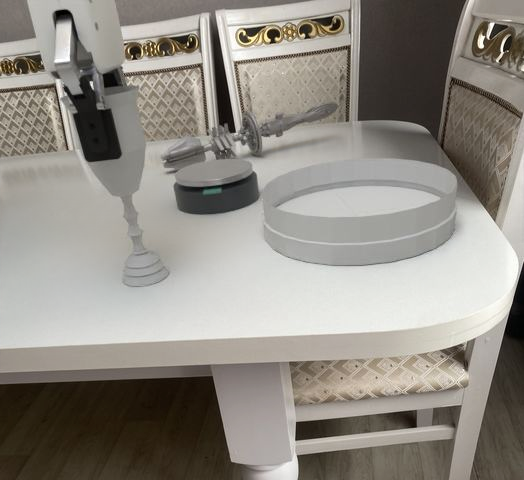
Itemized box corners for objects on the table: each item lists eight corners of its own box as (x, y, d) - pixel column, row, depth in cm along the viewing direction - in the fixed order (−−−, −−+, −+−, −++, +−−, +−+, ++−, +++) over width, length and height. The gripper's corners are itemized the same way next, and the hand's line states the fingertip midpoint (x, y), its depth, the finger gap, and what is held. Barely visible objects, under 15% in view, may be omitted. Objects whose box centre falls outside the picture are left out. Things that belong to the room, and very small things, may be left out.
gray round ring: (282, 280, 52) (277, 232, 49) (251, 211, 71) (247, 174, 68) (494, 244, 54) (500, 196, 51) (410, 186, 72) (411, 149, 70)
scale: (171, 219, 71) (167, 196, 70) (182, 192, 82) (178, 172, 80) (259, 210, 71) (256, 186, 69) (258, 184, 81) (256, 163, 79)
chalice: (141, 258, 61) (98, 87, 51) (190, 264, 58) (155, 83, 48) (99, 287, 55) (42, 101, 46) (151, 294, 53) (102, 98, 43)
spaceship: (350, 96, 93) (328, 75, 97) (165, 154, 86) (150, 129, 90) (346, 135, 100) (326, 114, 104) (174, 193, 93) (159, 168, 97)
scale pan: (171, 190, 70) (169, 184, 70) (180, 169, 79) (179, 163, 79) (252, 181, 70) (252, 175, 69) (252, 161, 79) (252, 155, 78)
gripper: (44, -73, 47) (98, 135, 57) (-50, -108, 33) (45, 179, 42) (125, -84, 47) (166, 127, 57) (68, -124, 32) (136, 169, 42)
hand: (114, 148), depth 49 cm, fingers closed on chalice, 7 cm apart
